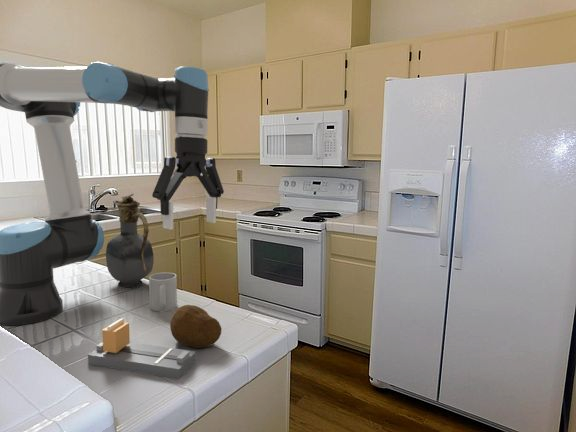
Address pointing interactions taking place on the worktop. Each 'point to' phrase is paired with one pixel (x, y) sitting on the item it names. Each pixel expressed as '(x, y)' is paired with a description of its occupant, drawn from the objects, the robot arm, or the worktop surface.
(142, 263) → the pitcher
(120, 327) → the slider
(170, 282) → the cup
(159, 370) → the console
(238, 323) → the worktop surface
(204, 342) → the potato
